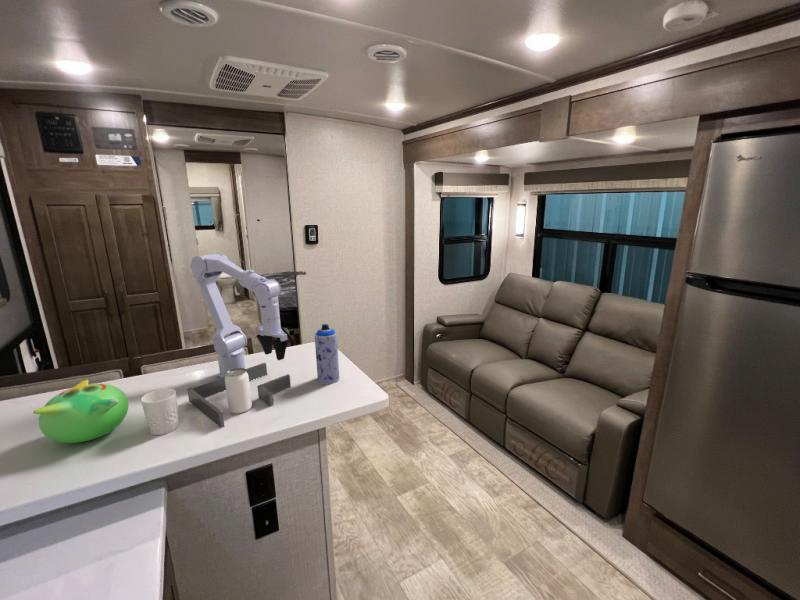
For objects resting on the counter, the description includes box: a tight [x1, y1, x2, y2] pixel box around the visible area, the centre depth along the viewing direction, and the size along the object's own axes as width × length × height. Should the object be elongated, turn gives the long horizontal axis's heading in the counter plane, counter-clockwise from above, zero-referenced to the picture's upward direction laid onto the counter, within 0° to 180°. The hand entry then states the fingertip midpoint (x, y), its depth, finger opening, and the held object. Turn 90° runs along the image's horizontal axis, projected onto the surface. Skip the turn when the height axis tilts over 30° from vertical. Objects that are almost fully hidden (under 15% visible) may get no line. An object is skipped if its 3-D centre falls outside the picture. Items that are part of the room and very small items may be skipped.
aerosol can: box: [314, 323, 341, 385], centre depth 128 cm, size 8×8×20 cm
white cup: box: [140, 388, 180, 436], centre depth 101 cm, size 8×8×10 cm
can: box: [225, 368, 253, 415], centre depth 110 cm, size 6×6×12 cm
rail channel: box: [186, 362, 292, 429], centre depth 118 cm, size 22×26×4 cm
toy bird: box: [32, 379, 129, 444], centre depth 97 cm, size 18×17×15 cm
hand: (274, 356), depth 124 cm, fingers open, 7 cm apart
